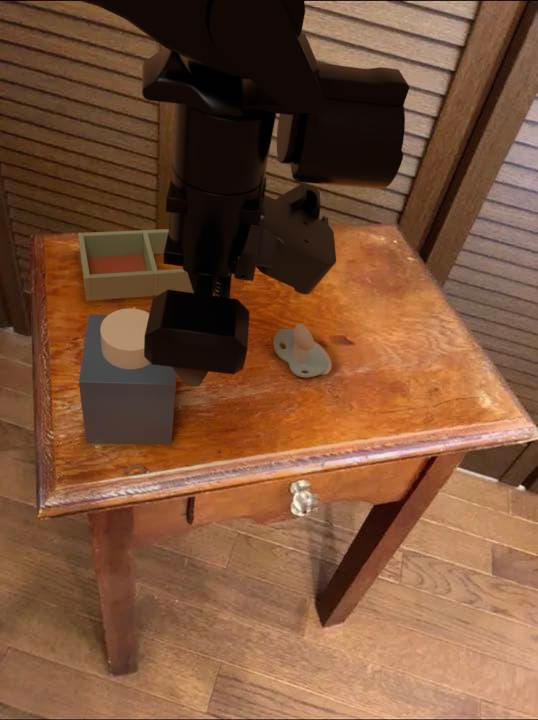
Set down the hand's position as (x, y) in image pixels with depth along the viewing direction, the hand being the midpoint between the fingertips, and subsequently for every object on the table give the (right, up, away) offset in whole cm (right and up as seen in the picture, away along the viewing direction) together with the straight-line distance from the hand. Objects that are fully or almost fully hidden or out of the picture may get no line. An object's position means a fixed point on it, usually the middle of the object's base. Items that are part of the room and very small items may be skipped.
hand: (198, 340), depth 48 cm
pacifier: (+10, -2, +21) cm, 23 cm away
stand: (-8, -7, +12) cm, 16 cm away
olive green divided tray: (-9, +9, +26) cm, 29 cm away
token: (-7, 0, +4) cm, 8 cm away
